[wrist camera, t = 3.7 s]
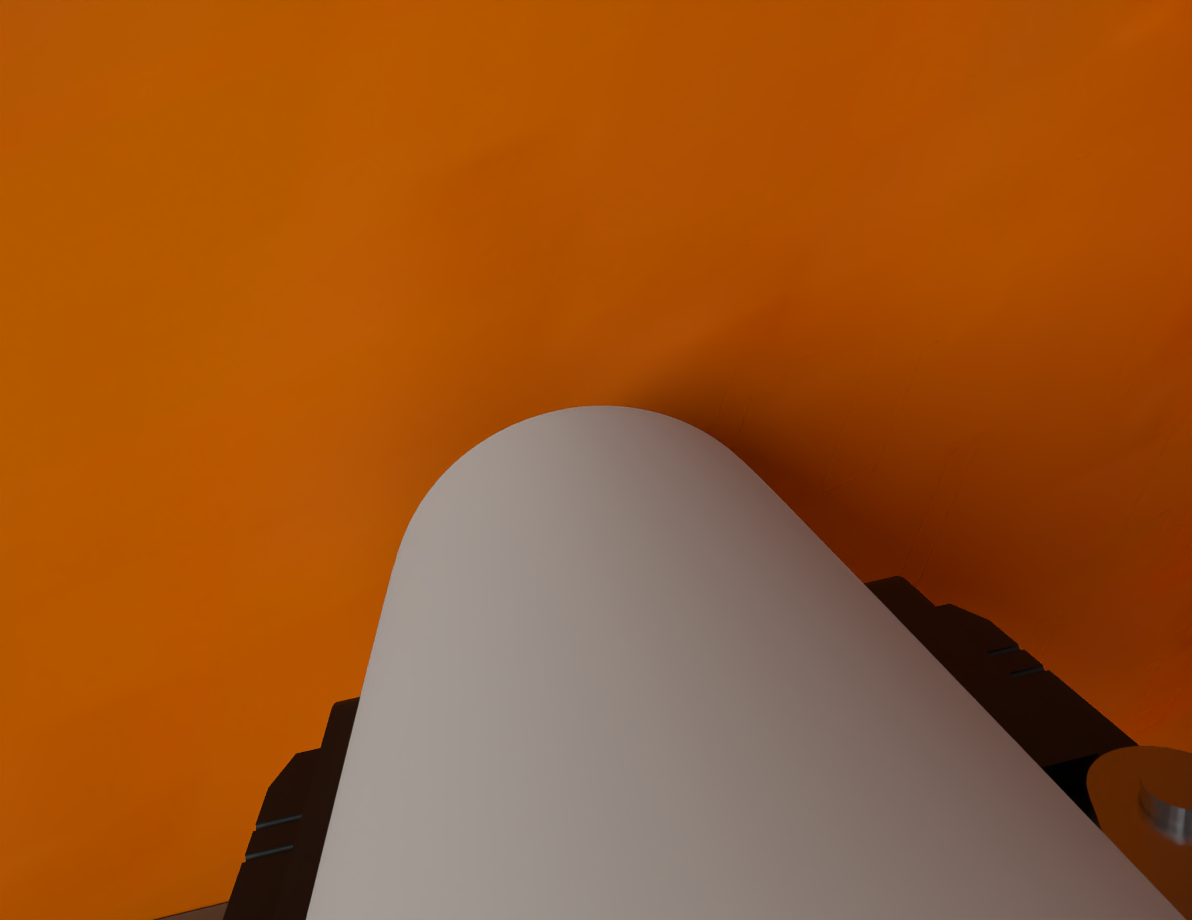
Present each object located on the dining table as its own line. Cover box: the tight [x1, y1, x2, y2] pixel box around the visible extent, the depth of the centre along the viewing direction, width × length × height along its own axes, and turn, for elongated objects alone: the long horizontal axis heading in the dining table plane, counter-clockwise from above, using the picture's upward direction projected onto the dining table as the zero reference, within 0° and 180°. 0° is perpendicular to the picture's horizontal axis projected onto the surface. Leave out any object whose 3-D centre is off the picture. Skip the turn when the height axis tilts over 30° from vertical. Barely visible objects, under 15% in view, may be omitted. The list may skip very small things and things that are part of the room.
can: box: [306, 406, 1186, 920], centre depth 8 cm, size 6×6×12 cm
